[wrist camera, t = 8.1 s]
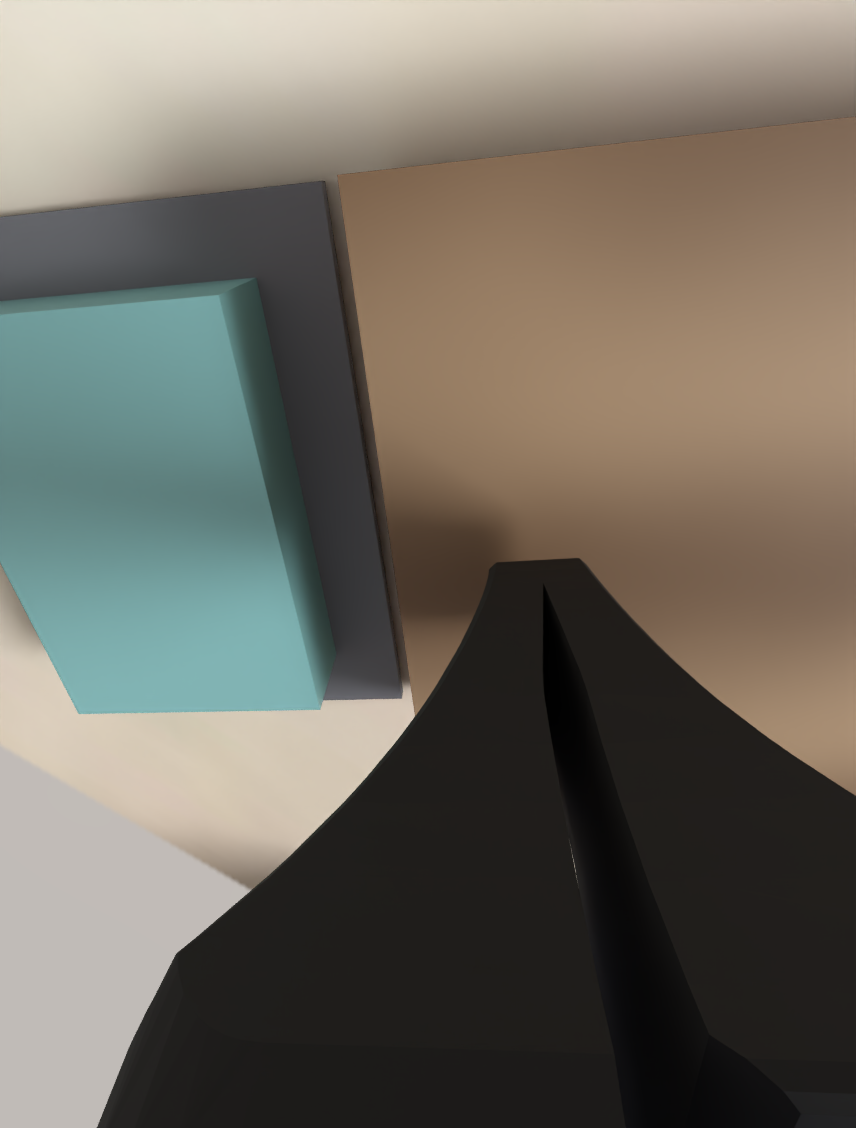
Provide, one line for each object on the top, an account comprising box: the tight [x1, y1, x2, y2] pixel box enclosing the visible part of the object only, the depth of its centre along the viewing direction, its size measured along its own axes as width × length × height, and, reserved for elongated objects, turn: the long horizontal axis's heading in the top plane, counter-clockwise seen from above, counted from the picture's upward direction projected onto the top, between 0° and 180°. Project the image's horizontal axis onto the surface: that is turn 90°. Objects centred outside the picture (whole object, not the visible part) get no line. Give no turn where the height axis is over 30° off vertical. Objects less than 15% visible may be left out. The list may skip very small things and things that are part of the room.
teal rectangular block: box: [0, 278, 336, 714], centre depth 13 cm, size 9×6×2 cm, turn 5°
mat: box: [0, 181, 403, 700], centre depth 15 cm, size 12×9×1 cm
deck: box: [337, 117, 856, 796], centre depth 12 cm, size 12×12×4 cm
